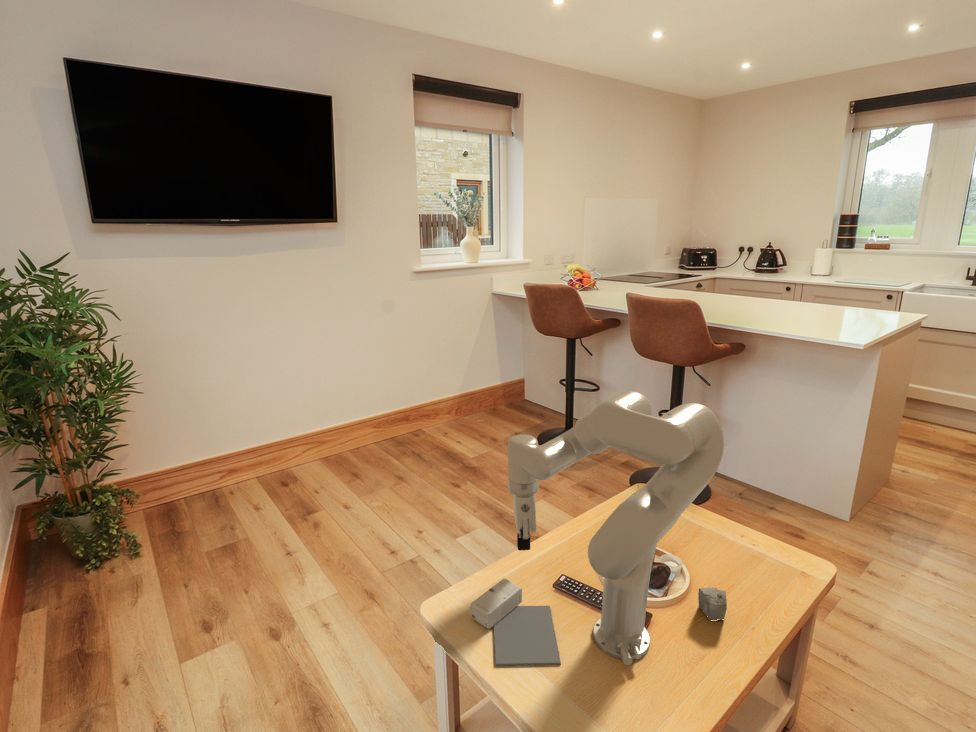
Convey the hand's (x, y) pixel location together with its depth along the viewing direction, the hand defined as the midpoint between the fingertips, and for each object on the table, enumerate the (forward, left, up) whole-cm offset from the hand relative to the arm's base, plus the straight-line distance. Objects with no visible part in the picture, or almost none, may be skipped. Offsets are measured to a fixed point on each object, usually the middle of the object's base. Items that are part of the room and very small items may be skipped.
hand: (523, 548), depth 135 cm
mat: (-18, +1, -10) cm, 21 cm away
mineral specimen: (-14, -45, -10) cm, 48 cm away
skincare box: (-6, +3, -8) cm, 10 cm away
